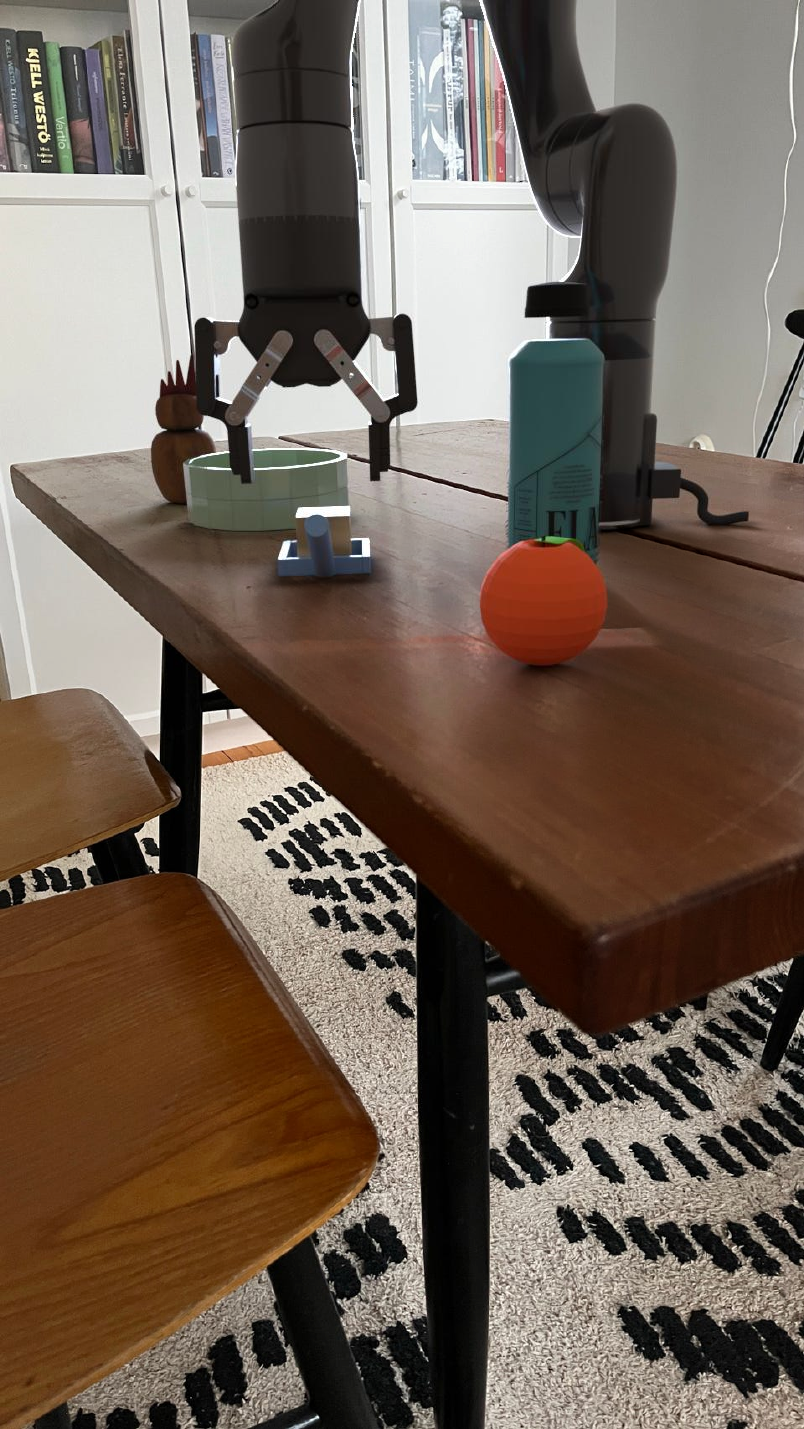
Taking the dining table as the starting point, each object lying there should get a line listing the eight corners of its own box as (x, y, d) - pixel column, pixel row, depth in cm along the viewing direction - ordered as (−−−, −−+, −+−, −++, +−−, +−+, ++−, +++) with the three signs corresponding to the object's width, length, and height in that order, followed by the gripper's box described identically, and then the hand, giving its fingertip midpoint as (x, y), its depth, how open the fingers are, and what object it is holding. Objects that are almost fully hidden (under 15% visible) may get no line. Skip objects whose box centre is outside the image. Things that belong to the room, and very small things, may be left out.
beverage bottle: (539, 605, 70) (545, 280, 63) (486, 585, 75) (486, 284, 68) (618, 592, 73) (632, 278, 66) (561, 574, 78) (569, 283, 71)
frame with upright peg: (285, 563, 84) (279, 481, 82) (370, 560, 84) (367, 478, 82) (269, 615, 70) (262, 517, 67) (372, 611, 70) (368, 514, 68)
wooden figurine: (225, 496, 117) (213, 353, 111) (211, 505, 111) (197, 355, 106) (166, 497, 117) (150, 355, 112) (149, 506, 112) (132, 357, 107)
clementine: (533, 633, 64) (535, 516, 61) (636, 653, 60) (643, 528, 57) (454, 667, 58) (452, 539, 56) (562, 691, 54) (566, 554, 52)
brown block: (352, 557, 83) (350, 506, 81) (352, 568, 79) (349, 515, 78) (301, 559, 83) (298, 507, 81) (298, 570, 79) (295, 517, 78)
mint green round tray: (350, 505, 109) (347, 446, 107) (348, 534, 95) (345, 466, 92) (202, 510, 109) (196, 451, 106) (178, 540, 94) (171, 472, 92)
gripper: (173, 211, 62) (197, 492, 67) (416, 207, 62) (420, 487, 68) (192, 223, 69) (213, 476, 74) (411, 218, 69) (415, 471, 75)
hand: (312, 481), depth 71 cm, fingers open, 8 cm apart
